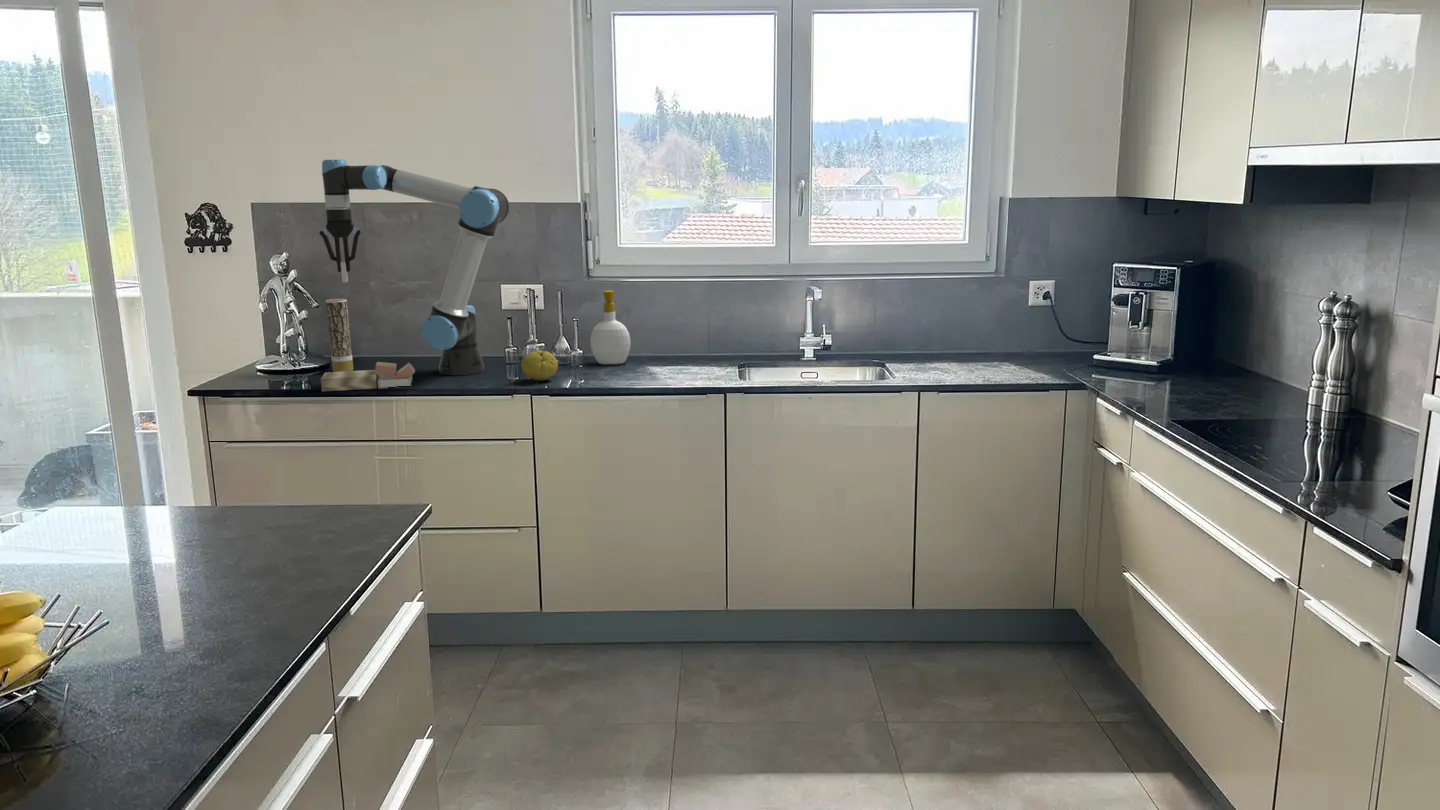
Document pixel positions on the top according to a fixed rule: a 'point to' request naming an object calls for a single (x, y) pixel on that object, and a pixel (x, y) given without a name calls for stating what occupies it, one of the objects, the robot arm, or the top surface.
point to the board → (349, 380)
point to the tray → (393, 381)
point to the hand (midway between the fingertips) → (345, 281)
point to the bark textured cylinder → (339, 335)
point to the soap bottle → (610, 336)
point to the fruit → (539, 365)
